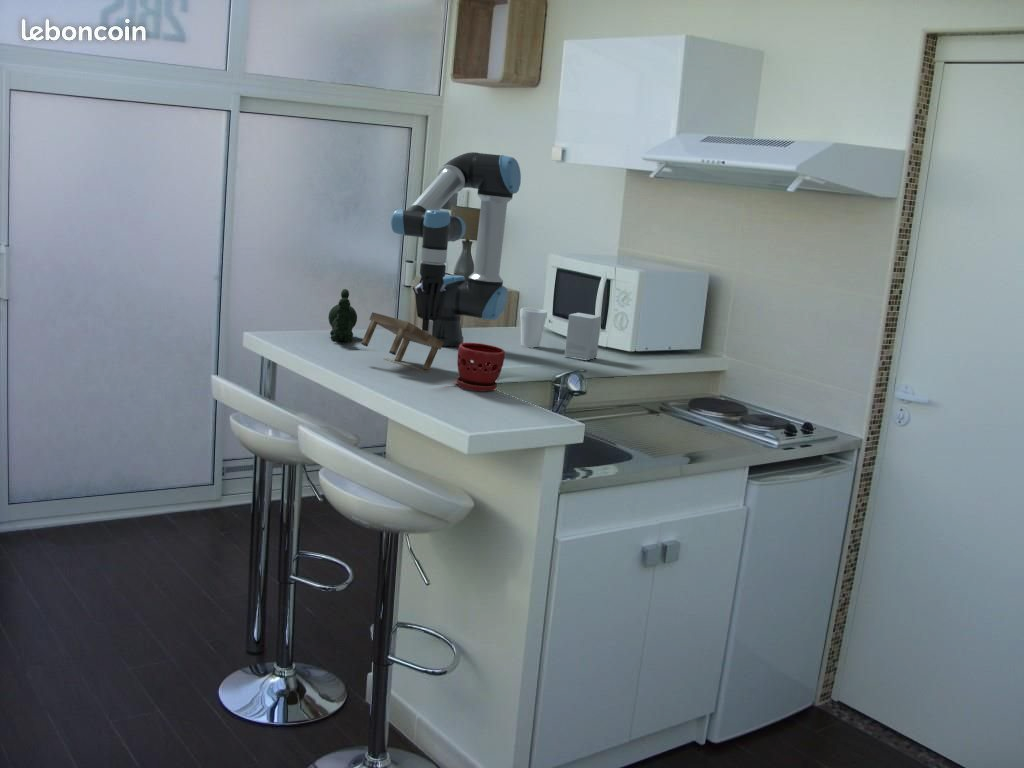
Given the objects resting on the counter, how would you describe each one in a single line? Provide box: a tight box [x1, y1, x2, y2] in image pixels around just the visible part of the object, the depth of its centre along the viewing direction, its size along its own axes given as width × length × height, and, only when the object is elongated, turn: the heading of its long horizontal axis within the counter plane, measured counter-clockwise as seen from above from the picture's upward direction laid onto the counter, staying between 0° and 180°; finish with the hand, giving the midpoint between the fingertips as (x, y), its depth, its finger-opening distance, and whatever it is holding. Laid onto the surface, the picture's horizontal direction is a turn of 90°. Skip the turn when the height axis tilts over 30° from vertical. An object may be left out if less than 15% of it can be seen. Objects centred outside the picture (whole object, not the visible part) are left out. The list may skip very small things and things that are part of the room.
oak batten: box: [383, 358, 430, 373], centre depth 328 cm, size 2×19×1 cm, turn 47°
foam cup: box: [519, 307, 548, 348], centre depth 389 cm, size 10×9×13 cm
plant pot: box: [456, 342, 506, 392], centre depth 311 cm, size 13×13×12 cm
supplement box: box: [564, 312, 602, 361], centre depth 378 cm, size 9×9×15 cm
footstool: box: [360, 311, 443, 371], centre depth 324 cm, size 10×16×16 cm
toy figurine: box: [327, 288, 358, 343], centre depth 363 cm, size 9×19×25 cm
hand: (426, 341), depth 331 cm, fingers closed
